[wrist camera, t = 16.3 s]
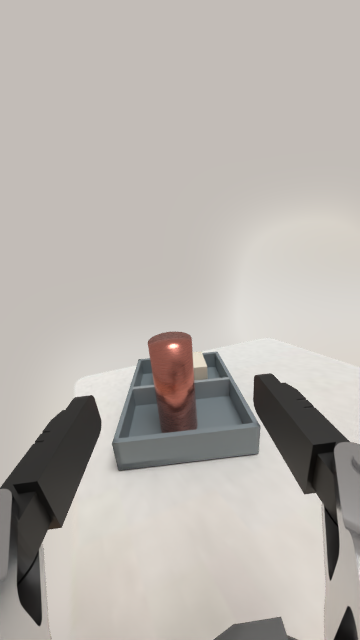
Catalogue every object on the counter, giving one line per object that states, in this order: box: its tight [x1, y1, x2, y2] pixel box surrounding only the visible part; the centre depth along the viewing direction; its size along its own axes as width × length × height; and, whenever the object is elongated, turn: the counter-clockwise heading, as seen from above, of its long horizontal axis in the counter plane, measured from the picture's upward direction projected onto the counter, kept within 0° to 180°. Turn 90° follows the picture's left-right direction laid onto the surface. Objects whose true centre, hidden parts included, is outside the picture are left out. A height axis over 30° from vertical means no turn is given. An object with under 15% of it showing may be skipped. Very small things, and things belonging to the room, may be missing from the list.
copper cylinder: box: [148, 332, 198, 433], centre depth 25 cm, size 6×6×14 cm
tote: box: [112, 352, 260, 470], centre depth 32 cm, size 18×20×4 cm
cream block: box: [192, 352, 208, 381], centre depth 36 cm, size 10×6×5 cm, turn 94°
